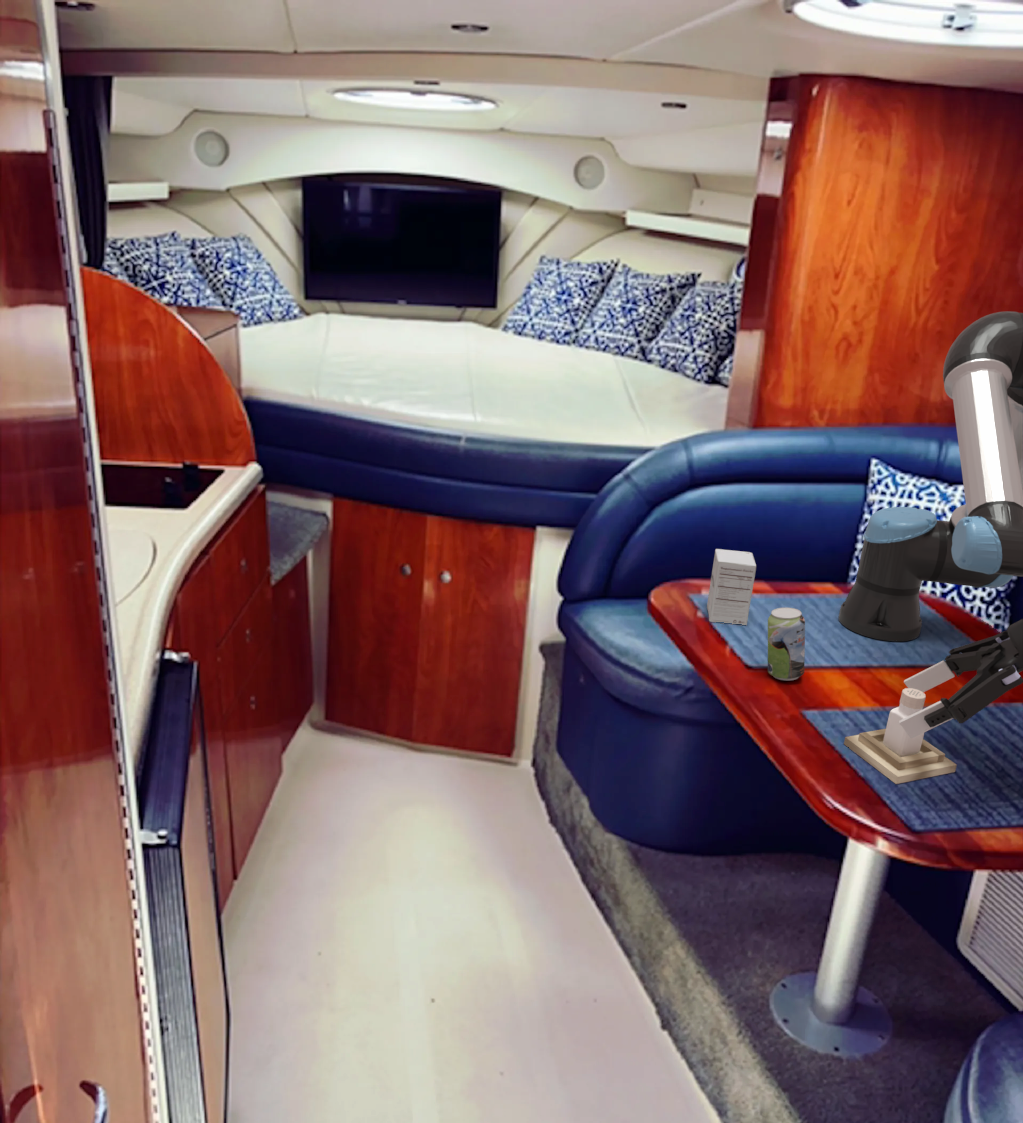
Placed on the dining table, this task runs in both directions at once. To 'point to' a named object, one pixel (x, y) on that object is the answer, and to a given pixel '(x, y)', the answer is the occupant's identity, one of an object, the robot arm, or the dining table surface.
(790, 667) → the beverage can
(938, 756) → the tray
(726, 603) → the supplement box
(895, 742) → the pepper shaker
